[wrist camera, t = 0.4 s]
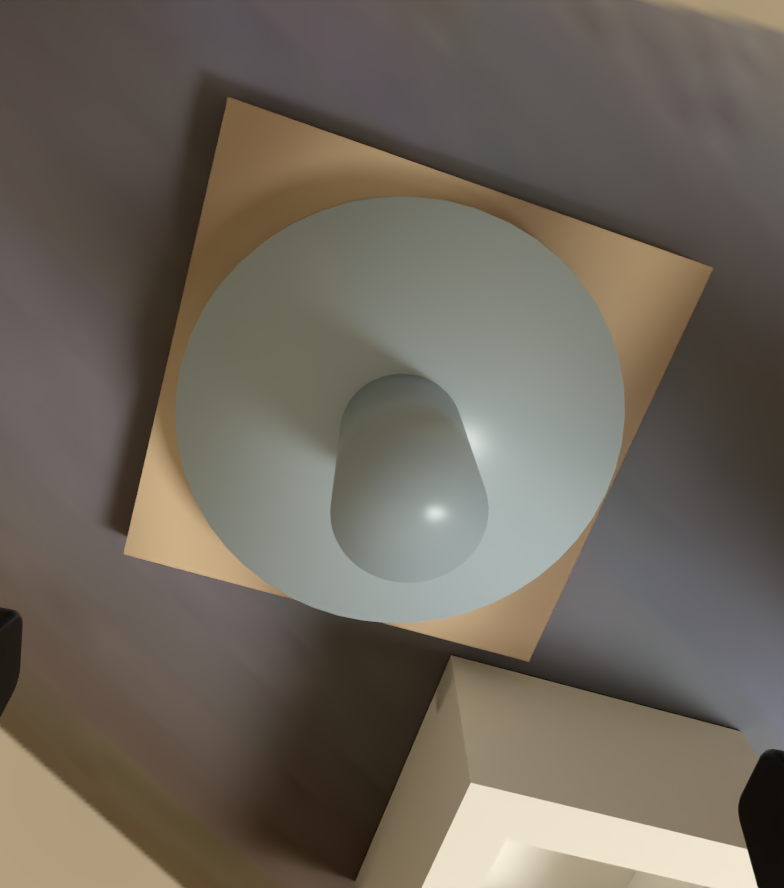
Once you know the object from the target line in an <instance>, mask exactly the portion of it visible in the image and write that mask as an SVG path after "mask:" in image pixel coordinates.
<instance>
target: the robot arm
mask: <svg viewBox="0 0 784 888" xmlns="http://www.w3.org/2000/svg"><path fill="white" fill-rule="evenodd" d="M22 626H23V621H22V617H21V614H20V613H19V612H18V611H16V610H12V609H7V608H1V607H0V717H1V715H2V713H3V711H4V709H5V707H6V705H7V703H8V701H9V700H10V698H11V696H12V694H13V692H14V690H15V687H16V684H17V681H18V678H19V673H20V662H21V644H22ZM738 816H739V822H740V825H741V829H742V833H743V836H744V840H745V843H746V847H747V851H748V854H749V858H750V862H751V865H752V869H753V872H754V876H755V880H756V883H757V887H758V888H784V751H781V750H776V749H770V750H767V751H765V752H764V753H763V754H762V755H761V756H760V758H759V760H758V762H757V764H756V766H755V768H754V770H753V772H752V774H751V776H750V778H749V780H748V782H747V784H746V786H745V788H744V790H743V792H742V794H741V796H740V799H739V804H738Z"/></svg>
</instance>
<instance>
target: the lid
mask: <svg viewBox="0 0 784 888" xmlns="http://www.w3.org/2000/svg"><path fill="white" fill-rule="evenodd" d="M624 420H625V400H624V384H623V378H622V372H621V367H620V361H619V357H618V354H617V351H616V348H615V345H614V342H613V339H612V335H611V332H610V330H609V328H608V326H607V324H606V322H605V320H604V318H603V316H602V314H601V312H600V310H599V308H598V306H597V304H596V303H595V301H594V300H593V298H592V297H591V295H590V294H589V293H588V291H587V290H586V288H585V287H584V285H583V284H582V282H581V281H580V280H579V279H578V278H577V277H576V275H575V274H574V273H573V272H572V271H571V270H570V269H569V268H568V267H567V266H566V265H565V263H564V262H563V261H562V260H561V259H560V258H559V257H557V256H556V255H555V254H554V253H553V252H551V251H550V250H549V249H548V248H546V247H545V246H544V245H543V244H542V243H540V242H539V241H538V240H537V239H535V238H534V237H532V236H530V235H529V234H527V233H525V232H524V231H522V230H520V229H519V228H517V227H515V226H514V225H512V224H511V223H509V222H507V221H504V220H502V219H500V218H497V217H495V216H493V215H490V214H488V213H486V212H483V211H481V210H479V209H476V208H474V207H470V206H467V205H463V204H459V203H456V202H452V201H448V200H444V199H436V198H428V197H421V196H380V197H373V198H367V199H360V200H353V201H350V202H346V203H343V204H339V205H336V206H333V207H329V208H326V209H323V210H320V211H318V212H316V213H314V214H312V215H309V216H307V217H305V218H303V219H300V220H298V221H296V222H294V223H293V224H291V225H289V226H288V227H286V228H285V229H283V230H281V231H280V232H278V233H277V234H275V235H274V236H272V237H270V238H269V239H267V240H266V241H265V242H263V243H262V244H261V245H260V246H259V247H258V248H256V249H255V250H254V251H253V252H252V253H250V254H249V255H248V256H247V257H246V258H245V259H243V260H242V261H241V262H240V263H239V264H238V265H237V266H236V267H235V268H234V269H233V271H232V272H231V273H230V274H229V275H228V276H227V277H226V278H225V280H224V281H223V282H222V283H221V284H220V285H219V286H218V288H217V289H216V291H215V292H214V294H213V295H212V297H211V298H210V300H209V301H208V303H207V304H206V306H205V307H204V309H203V310H202V312H201V314H200V316H199V319H198V321H197V323H196V325H195V327H194V329H193V331H192V333H191V335H190V337H189V340H188V343H187V347H186V350H185V353H184V356H183V359H182V363H181V366H180V372H179V378H178V384H177V390H176V409H175V425H176V433H177V442H178V450H179V454H180V458H181V462H182V465H183V469H184V473H185V477H186V479H187V482H188V484H189V487H190V489H191V491H192V494H193V496H194V499H195V501H196V503H197V505H198V507H199V508H200V510H201V512H202V514H203V515H204V517H205V519H206V520H207V522H208V524H209V526H210V527H211V528H212V530H213V531H214V532H215V533H216V535H217V536H218V537H219V539H220V540H221V541H222V543H223V544H224V545H225V547H226V548H227V549H228V550H229V551H230V552H231V553H232V554H233V555H234V556H235V557H236V558H237V559H238V560H239V561H240V562H241V563H242V564H243V565H244V566H245V567H247V568H248V569H249V570H250V571H252V572H253V573H254V574H256V575H257V576H258V577H259V578H261V579H262V580H263V581H264V582H266V583H267V584H269V585H271V586H272V587H274V588H276V589H277V590H279V591H281V592H282V593H284V594H285V595H287V596H289V597H291V598H293V599H296V600H298V601H300V602H302V603H304V604H306V605H309V606H311V607H313V608H316V609H319V610H322V611H326V612H329V613H332V614H335V615H338V616H343V617H348V618H353V619H358V620H363V621H373V622H385V623H409V622H422V621H430V620H437V619H443V618H447V617H451V616H455V615H459V614H463V613H467V612H470V611H473V610H476V609H478V608H481V607H484V606H486V605H489V604H492V603H494V602H496V601H498V600H500V599H502V598H504V597H506V596H508V595H510V594H512V593H514V592H516V591H517V590H519V589H520V588H522V587H523V586H525V585H526V584H528V583H529V582H531V581H532V580H534V579H535V578H537V577H538V576H540V575H541V574H542V573H543V572H544V571H545V570H547V569H548V568H549V567H550V566H551V565H553V564H554V563H555V562H556V561H557V560H559V558H560V557H561V556H562V555H563V554H564V553H565V552H566V551H567V550H568V549H569V548H570V547H571V546H572V545H573V543H574V542H575V541H576V540H577V539H578V538H579V536H580V535H581V533H582V532H583V531H584V529H585V528H586V527H587V525H588V524H589V522H590V521H591V520H592V518H593V517H594V515H595V513H596V511H597V509H598V507H599V506H600V504H601V502H602V500H603V498H604V497H605V495H606V492H607V490H608V487H609V485H610V482H611V479H612V477H613V474H614V472H615V469H616V465H617V461H618V457H619V453H620V449H621V445H622V438H623V429H624Z"/></svg>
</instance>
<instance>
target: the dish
mask: <svg viewBox="0 0 784 888" xmlns="http://www.w3.org/2000/svg"><path fill="white" fill-rule="evenodd" d="M758 760H759V758H758V757H757V755H756V753H755V752H754V750H753V749H752V747H751V746H750V744H749V743H748V741H747V739H746V738H745V736H744V735H743V733H742V732H741V731H737V730H733V729H729V728H726V727H722V726H718V725H714V724H710V723H707V722H703V721H699V720H695V719H691V718H688V717H684V716H680V715H676V714H672V713H669V712H665V711H661V710H657V709H653V708H650V707H646V706H642V705H638V704H634V703H631V702H627V701H623V700H619V699H615V698H612V697H608V696H604V695H600V694H596V693H593V692H589V691H585V690H581V689H577V688H574V687H570V686H566V685H562V684H558V683H555V682H551V681H547V680H543V679H539V678H536V677H532V676H528V675H524V674H520V673H517V672H513V671H509V670H505V669H501V668H498V667H494V666H490V665H486V664H482V663H479V662H475V661H471V660H467V659H463V658H460V657H456V656H452V655H451V657H450V659H449V661H448V664H447V666H446V668H445V671H444V673H443V675H442V678H441V680H440V683H439V685H438V687H437V690H436V692H435V694H434V697H433V699H432V701H431V704H430V706H429V708H428V711H427V713H426V716H425V718H424V720H423V723H422V725H421V727H420V730H419V732H418V734H417V737H416V739H415V741H414V744H413V746H412V749H411V751H410V753H409V756H408V758H407V760H406V763H405V765H404V767H403V770H402V772H401V775H400V777H399V779H398V782H397V784H396V786H395V789H394V791H393V793H392V796H391V798H390V800H389V803H388V805H387V808H386V810H385V812H384V815H383V817H382V819H381V822H380V824H379V826H378V829H377V831H376V833H375V836H374V838H373V841H372V843H371V845H370V848H369V850H368V852H367V855H366V857H365V859H364V862H363V864H362V866H361V869H360V871H359V874H358V876H357V878H356V881H355V888H758V887H757V883H756V880H755V876H754V872H753V869H752V865H751V862H750V858H749V854H748V851H747V847H746V843H745V840H744V836H743V833H742V829H741V825H740V822H739V816H738V804H739V799H740V796H741V794H742V792H743V790H744V788H745V786H746V784H747V782H748V780H749V778H750V776H751V774H752V772H753V770H754V768H755V766H756V764H757V762H758Z"/></svg>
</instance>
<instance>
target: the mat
mask: <svg viewBox="0 0 784 888" xmlns="http://www.w3.org/2000/svg"><path fill="white" fill-rule="evenodd" d="M380 196H421V197H428V198H436V199H444V200H448V201H452V202H456V203H459V204H463V205H467V206H470V207H474V208H476V209H479V210H481V211H483V212H486V213H488V214H490V215H493V216H495V217H497V218H500V219H502V220H504V221H507V222H509V223H511V224H512V225H514V226H515V227H517V228H519V229H520V230H522V231H524V232H525V233H527V234H529V235H530V236H532V237H534V238H535V239H537V240H538V241H539V242H540V243H542V244H543V245H544V246H545V247H546V248H548V249H549V250H550V251H551V252H553V253H554V254H555V255H556V256H557V257H559V258H560V259H561V260H562V261H563V262H564V263H565V265H566V266H567V267H568V268H569V269H570V270H571V271H572V272H573V273H574V274H575V275H576V277H577V278H578V279H579V280H580V281H581V282H582V284H583V285H584V287H585V288H586V290H587V291H588V293H589V294H590V295H591V297H592V298H593V300H594V301H595V303H596V304H597V306H598V308H599V310H600V312H601V314H602V316H603V318H604V320H605V322H606V324H607V326H608V328H609V330H610V332H611V335H612V339H613V342H614V345H615V348H616V351H617V354H618V357H619V361H620V367H621V372H622V378H623V384H624V400H625V420H624V429H623V438H622V445H621V449H620V453H619V457H618V461H617V465H616V469H615V472H614V474H613V477H612V479H611V482H610V485H609V487H608V490H607V492H606V495H605V497H604V498H603V500H602V502H601V504H600V506H599V507H598V509H597V511H596V513H595V515H594V517H593V518H592V520H591V521H590V522H589V524H588V525H587V527H586V528H585V529H584V531H583V532H582V533H581V535H580V536H579V538H578V539H577V540H576V541H575V542H574V543H573V545H572V546H571V547H570V548H569V549H568V550H567V551H566V552H565V553H564V554H563V555H562V556H561V557H560V558H559V560H557V561H556V562H555V563H554V564H553V565H551V566H550V567H549V568H548V569H547V570H545V571H544V572H543V573H542V574H541V575H540V576H538V577H537V578H535V579H534V580H532V581H531V582H529V583H528V584H526V585H525V586H523V587H522V588H520V589H519V590H517V591H516V592H514V593H512V594H510V595H508V596H506V597H504V598H502V599H500V600H498V601H496V602H494V603H492V604H489V605H486V606H484V607H481V608H478V609H476V610H473V611H470V612H467V613H463V614H459V615H455V616H451V617H447V618H443V619H437V620H430V621H422V622H409V623H385V622H381V623H385V624H388V625H392V626H396V627H400V628H404V629H407V630H411V631H415V632H419V633H422V634H426V635H430V636H434V637H437V638H441V639H445V640H449V641H452V642H456V643H460V644H464V645H467V646H471V647H475V648H479V649H483V650H486V651H490V652H494V653H498V654H501V655H505V656H509V657H513V658H516V659H520V660H524V661H528V662H529V660H530V658H531V656H532V654H533V652H534V650H535V648H536V645H537V643H538V641H539V639H540V637H541V635H542V633H543V631H544V628H545V626H546V624H547V622H548V620H549V618H550V616H551V613H552V611H553V609H554V607H555V605H556V603H557V601H558V599H559V596H560V594H561V592H562V590H563V588H564V586H565V584H566V581H567V579H568V577H569V575H570V573H571V571H572V569H573V567H574V564H575V562H576V560H577V558H578V556H579V554H580V552H581V550H582V547H583V545H584V543H585V541H586V539H587V537H588V535H589V532H590V530H591V528H592V526H593V524H594V522H595V520H596V518H597V515H598V513H599V511H600V509H601V507H602V505H603V503H604V501H605V498H606V496H607V494H608V492H609V490H610V488H611V486H612V483H613V481H614V479H615V477H616V475H617V473H618V471H619V469H620V466H621V464H622V462H623V460H624V458H625V456H626V454H627V451H628V449H629V447H630V445H631V443H632V441H633V439H634V437H635V434H636V432H637V430H638V428H639V426H640V424H641V422H642V420H643V417H644V415H645V413H646V411H647V409H648V407H649V405H650V402H651V400H652V398H653V396H654V394H655V392H656V390H657V388H658V385H659V383H660V381H661V379H662V377H663V375H664V373H665V371H666V368H667V366H668V364H669V362H670V360H671V358H672V356H673V353H674V351H675V349H676V347H677V345H678V343H679V341H680V339H681V336H682V334H683V332H684V330H685V328H686V326H687V324H688V321H689V319H690V317H691V315H692V313H693V311H694V309H695V307H696V304H697V302H698V300H699V298H700V296H701V294H702V292H703V290H704V287H705V285H706V283H707V281H708V279H709V277H710V275H711V272H712V270H713V267H710V266H707V265H704V264H702V263H699V262H696V261H693V260H690V259H687V258H685V257H682V256H679V255H676V254H673V253H670V252H668V251H665V250H662V249H659V248H656V247H653V246H651V245H648V244H645V243H642V242H639V241H636V240H633V239H631V238H628V237H625V236H622V235H619V234H616V233H614V232H611V231H608V230H605V229H602V228H599V227H597V226H594V225H591V224H588V223H585V222H582V221H580V220H577V219H574V218H571V217H568V216H565V215H563V214H560V213H557V212H554V211H551V210H548V209H545V208H543V207H540V206H537V205H534V204H531V203H528V202H526V201H523V200H520V199H517V198H514V197H511V196H509V195H506V194H503V193H500V192H497V191H494V190H492V189H489V188H486V187H483V186H480V185H477V184H475V183H472V182H469V181H466V180H463V179H460V178H458V177H455V176H452V175H449V174H446V173H443V172H440V171H438V170H435V169H432V168H429V167H426V166H423V165H421V164H418V163H415V162H412V161H409V160H406V159H404V158H401V157H398V156H395V155H392V154H389V153H387V152H384V151H381V150H378V149H375V148H372V147H370V146H367V145H364V144H361V143H358V142H355V141H352V140H350V139H347V138H344V137H341V136H338V135H335V134H333V133H330V132H327V131H324V130H321V129H318V128H316V127H313V126H310V125H307V124H304V123H301V122H299V121H296V120H293V119H290V118H287V117H284V116H282V115H279V114H276V113H273V112H270V111H267V110H265V109H262V108H259V107H256V106H253V105H250V104H247V103H245V102H242V101H239V100H236V99H233V98H230V97H228V99H227V103H226V108H225V112H224V116H223V121H222V125H221V129H220V134H219V138H218V143H217V147H216V151H215V156H214V160H213V164H212V169H211V173H210V178H209V182H208V186H207V191H206V195H205V200H204V204H203V208H202V213H201V217H200V221H199V226H198V230H197V235H196V239H195V243H194V248H193V252H192V256H191V261H190V265H189V270H188V274H187V278H186V283H185V287H184V291H183V296H182V300H181V305H180V309H179V313H178V318H177V322H176V326H175V331H174V335H173V340H172V344H171V348H170V353H169V357H168V362H167V366H166V370H165V375H164V379H163V383H162V388H161V392H160V397H159V401H158V405H157V410H156V414H155V418H154V423H153V427H152V432H151V436H150V440H149V445H148V449H147V453H146V458H145V462H144V467H143V471H142V475H141V480H140V484H139V488H138V493H137V497H136V502H135V506H134V510H133V515H132V519H131V524H130V528H129V532H128V537H127V541H126V545H125V550H124V554H125V555H129V556H133V557H136V558H140V559H144V560H148V561H151V562H155V563H159V564H163V565H167V566H170V567H174V568H178V569H182V570H185V571H189V572H193V573H197V574H200V575H204V576H208V577H212V578H215V579H219V580H223V581H227V582H230V583H234V584H238V585H242V586H246V587H249V588H253V589H257V590H261V591H264V592H268V593H272V594H276V595H279V596H283V597H287V598H291V597H289V596H287V595H285V594H284V593H282V592H281V591H279V590H277V589H276V588H274V587H272V586H271V585H269V584H267V583H266V582H264V581H263V580H262V579H261V578H259V577H258V576H257V575H256V574H254V573H253V572H252V571H250V570H249V569H248V568H247V567H245V566H244V565H243V564H242V563H241V562H240V561H239V560H238V559H237V558H236V557H235V556H234V555H233V554H232V553H231V552H230V551H229V550H228V549H227V548H226V547H225V545H224V544H223V543H222V541H221V540H220V539H219V537H218V536H217V535H216V533H215V532H214V531H213V530H212V528H211V527H210V526H209V524H208V522H207V520H206V519H205V517H204V515H203V514H202V512H201V510H200V508H199V507H198V505H197V503H196V501H195V499H194V496H193V494H192V491H191V489H190V487H189V484H188V482H187V479H186V477H185V473H184V469H183V465H182V462H181V458H180V454H179V450H178V442H177V433H176V425H175V409H176V390H177V384H178V378H179V372H180V366H181V363H182V359H183V356H184V353H185V350H186V347H187V343H188V340H189V337H190V335H191V333H192V331H193V329H194V327H195V325H196V323H197V321H198V319H199V316H200V314H201V312H202V310H203V309H204V307H205V306H206V304H207V303H208V301H209V300H210V298H211V297H212V295H213V294H214V292H215V291H216V289H217V288H218V286H219V285H220V284H221V283H222V282H223V281H224V280H225V278H226V277H227V276H228V275H229V274H230V273H231V272H232V271H233V269H234V268H235V267H236V266H237V265H238V264H239V263H240V262H241V261H242V260H243V259H245V258H246V257H247V256H248V255H249V254H250V253H252V252H253V251H254V250H255V249H256V248H258V247H259V246H260V245H261V244H262V243H263V242H265V241H266V240H267V239H269V238H270V237H272V236H274V235H275V234H277V233H278V232H280V231H281V230H283V229H285V228H286V227H288V226H289V225H291V224H293V223H294V222H296V221H298V220H300V219H303V218H305V217H307V216H309V215H312V214H314V213H316V212H318V211H320V210H323V209H326V208H329V207H333V206H336V205H339V204H343V203H346V202H350V201H353V200H360V199H367V198H373V197H380ZM291 599H293V598H291ZM294 600H296V599H294Z"/></svg>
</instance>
